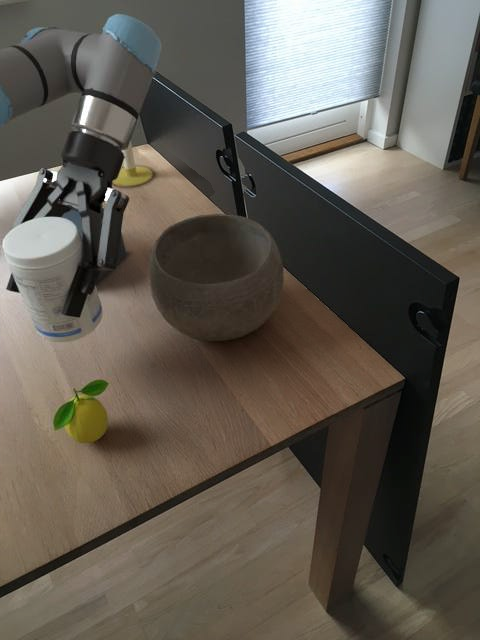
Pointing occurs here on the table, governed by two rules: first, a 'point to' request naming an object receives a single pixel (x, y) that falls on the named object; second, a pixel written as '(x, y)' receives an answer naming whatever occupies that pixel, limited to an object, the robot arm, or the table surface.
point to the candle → (132, 171)
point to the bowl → (216, 276)
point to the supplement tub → (50, 276)
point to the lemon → (84, 414)
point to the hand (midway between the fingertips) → (42, 303)
